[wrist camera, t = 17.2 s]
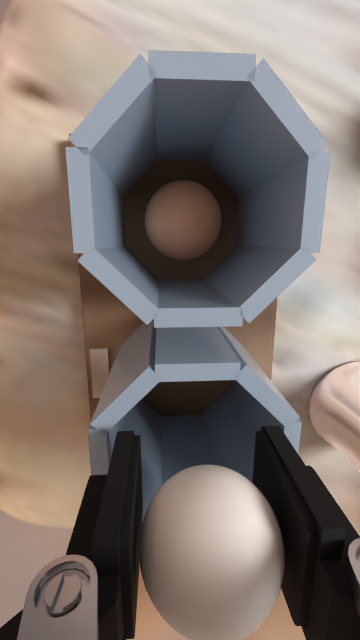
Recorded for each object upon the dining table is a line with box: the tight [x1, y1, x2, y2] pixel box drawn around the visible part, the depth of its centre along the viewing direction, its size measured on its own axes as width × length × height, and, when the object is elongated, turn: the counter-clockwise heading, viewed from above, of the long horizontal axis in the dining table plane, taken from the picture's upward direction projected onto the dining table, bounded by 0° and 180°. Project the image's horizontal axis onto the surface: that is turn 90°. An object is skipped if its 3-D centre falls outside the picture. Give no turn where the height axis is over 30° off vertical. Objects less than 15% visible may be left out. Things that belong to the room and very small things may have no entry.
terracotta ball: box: [145, 180, 221, 260], centre depth 15 cm, size 4×4×4 cm
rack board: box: [69, 134, 277, 421], centre depth 18 cm, size 17×11×1 cm, turn 0°
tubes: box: [65, 50, 330, 522], centre depth 14 cm, size 16×7×8 cm, turn 0°
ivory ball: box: [139, 465, 285, 640], centre depth 8 cm, size 4×4×4 cm
